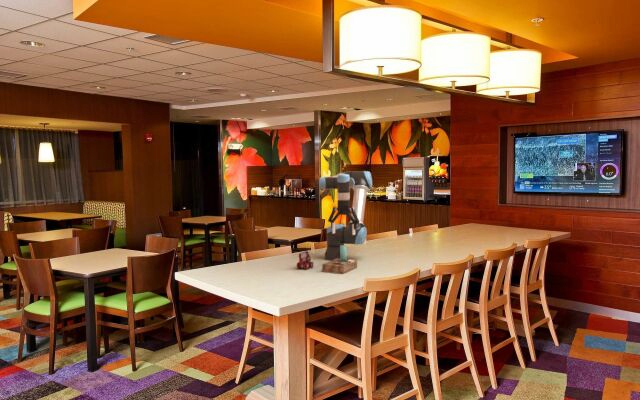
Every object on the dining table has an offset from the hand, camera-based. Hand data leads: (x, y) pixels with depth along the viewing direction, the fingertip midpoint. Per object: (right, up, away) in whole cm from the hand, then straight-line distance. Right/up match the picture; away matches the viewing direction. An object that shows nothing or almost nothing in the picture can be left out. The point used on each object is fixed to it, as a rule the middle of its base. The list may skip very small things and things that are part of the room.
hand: (343, 234), depth 295 cm
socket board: (-2, -21, -3) cm, 22 cm away
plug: (0, -20, +1) cm, 20 cm away
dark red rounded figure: (-24, -22, +1) cm, 32 cm away
